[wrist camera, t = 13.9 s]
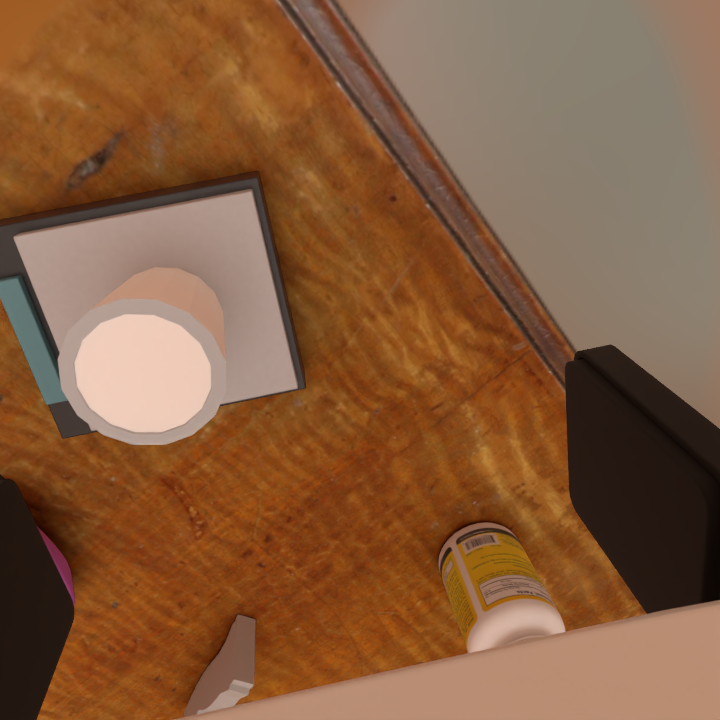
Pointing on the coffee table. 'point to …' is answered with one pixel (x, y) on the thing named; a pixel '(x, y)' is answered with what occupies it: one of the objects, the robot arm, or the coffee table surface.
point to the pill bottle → (495, 589)
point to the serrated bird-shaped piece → (227, 671)
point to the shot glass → (148, 359)
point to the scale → (145, 251)
